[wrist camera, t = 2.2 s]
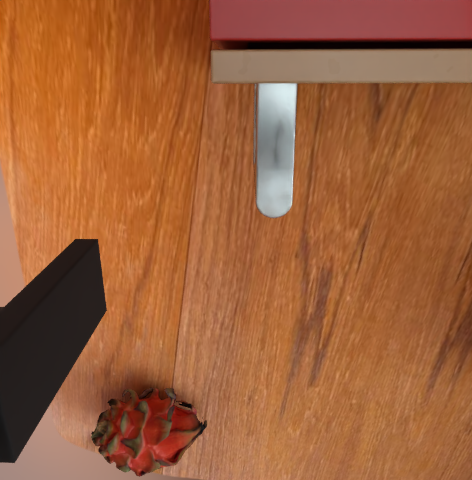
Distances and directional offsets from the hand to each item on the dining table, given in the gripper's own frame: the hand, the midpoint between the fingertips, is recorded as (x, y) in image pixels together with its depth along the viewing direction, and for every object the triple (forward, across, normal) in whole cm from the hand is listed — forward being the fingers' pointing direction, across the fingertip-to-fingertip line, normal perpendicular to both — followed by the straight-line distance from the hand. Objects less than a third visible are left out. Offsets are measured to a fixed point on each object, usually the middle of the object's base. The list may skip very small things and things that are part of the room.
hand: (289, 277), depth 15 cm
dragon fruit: (+26, +12, +28) cm, 40 cm away
